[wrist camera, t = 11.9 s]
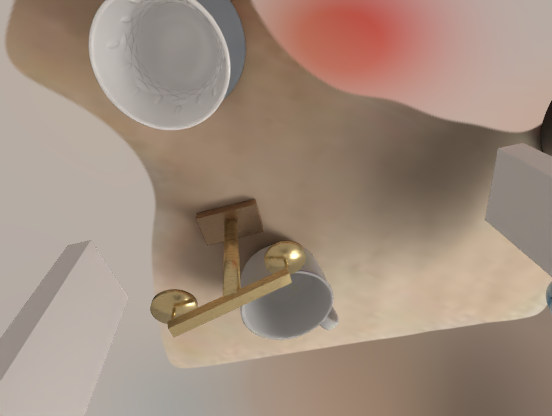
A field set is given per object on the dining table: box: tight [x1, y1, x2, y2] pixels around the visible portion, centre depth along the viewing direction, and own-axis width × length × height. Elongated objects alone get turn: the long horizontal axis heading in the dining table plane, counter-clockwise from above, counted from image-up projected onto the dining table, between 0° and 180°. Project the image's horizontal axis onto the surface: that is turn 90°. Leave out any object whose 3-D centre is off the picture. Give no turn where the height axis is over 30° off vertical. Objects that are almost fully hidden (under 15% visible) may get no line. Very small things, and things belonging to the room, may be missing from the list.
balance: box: [150, 199, 306, 337], centre depth 33 cm, size 15×4×14 cm, turn 101°
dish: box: [196, 0, 246, 98], centre depth 28 cm, size 11×11×1 cm
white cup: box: [89, 0, 230, 130], centre depth 23 cm, size 8×8×10 cm
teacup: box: [241, 245, 339, 340], centre depth 41 cm, size 14×11×8 cm
